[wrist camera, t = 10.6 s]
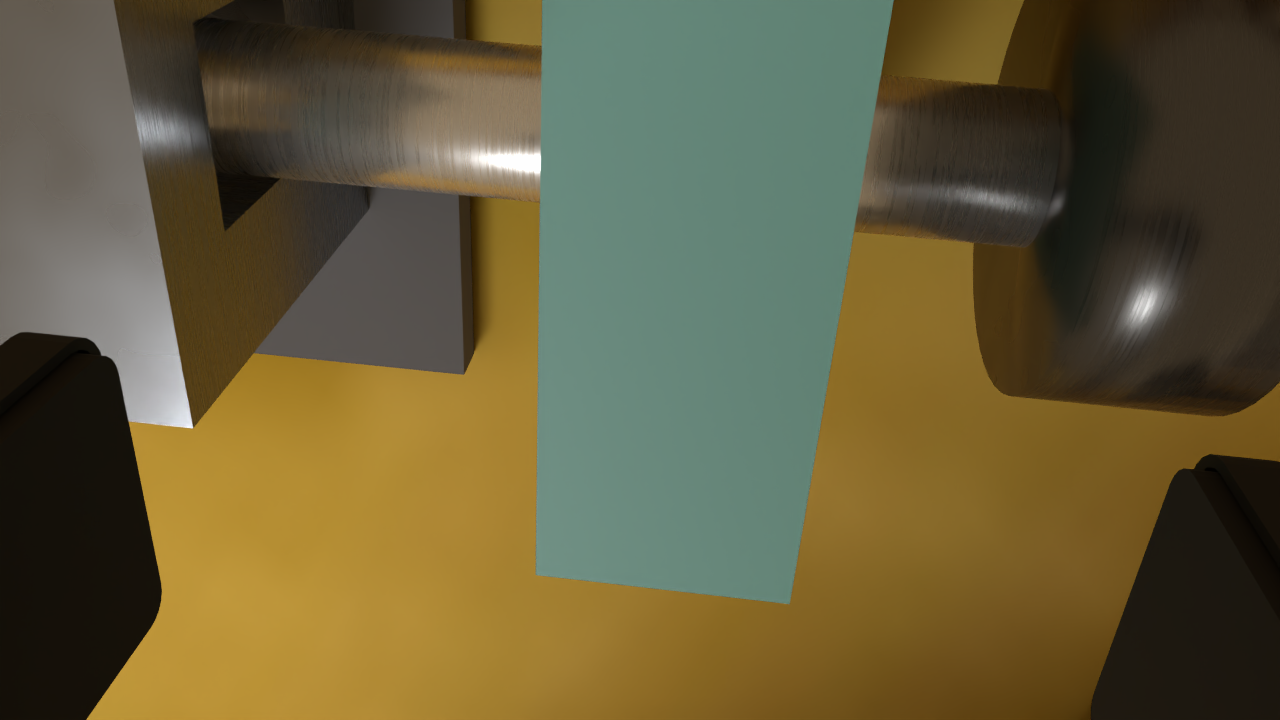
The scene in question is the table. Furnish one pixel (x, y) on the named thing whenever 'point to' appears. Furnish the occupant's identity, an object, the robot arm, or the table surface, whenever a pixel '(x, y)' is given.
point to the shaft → (903, 174)
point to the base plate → (393, 256)
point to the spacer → (693, 279)
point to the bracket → (147, 198)
